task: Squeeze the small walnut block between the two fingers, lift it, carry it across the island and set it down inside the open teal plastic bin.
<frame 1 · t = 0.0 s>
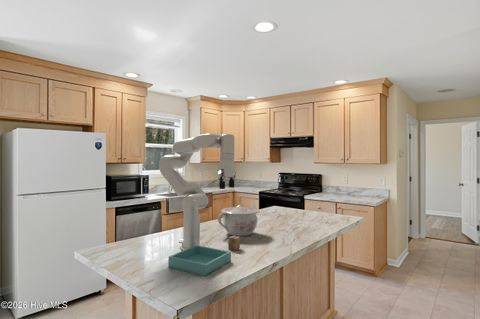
hand: (227, 188, 157), 37 cm above the table, fingers open, 9 cm apart
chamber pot: (239, 234, 203), on the table
walnut block: (234, 249, 168), on the table
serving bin: (200, 264, 143), on the table
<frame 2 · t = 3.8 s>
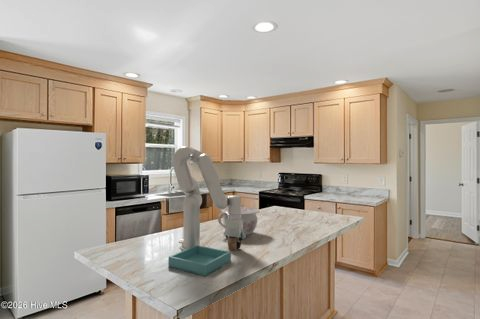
hand: (234, 247, 168), 1 cm above the table, fingers closed on walnut block, 5 cm apart
walnut block: (234, 249, 168), on the table, touching gripper
everything else where it was.
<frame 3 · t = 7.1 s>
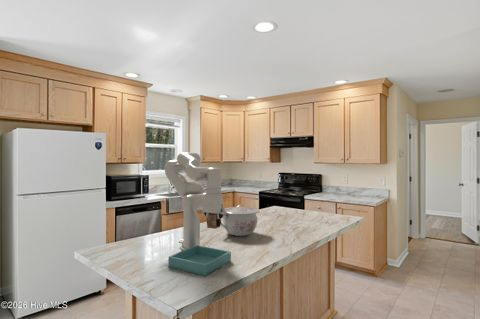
hand: (213, 225, 151), 18 cm above the table, fingers closed on walnut block, 5 cm apart
walnut block: (213, 227, 151), point 17 cm above the table, touching gripper
everything else where it was.
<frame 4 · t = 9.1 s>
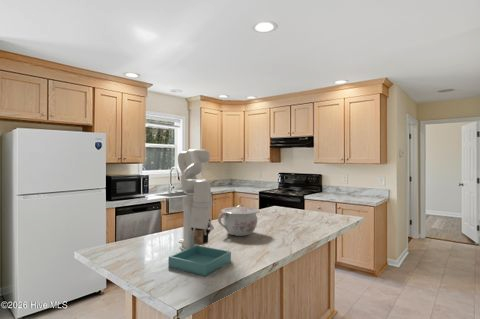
hand: (200, 241, 143), 11 cm above the table, fingers closed on walnut block, 5 cm apart
walnut block: (200, 243, 143), point 10 cm above the table, touching gripper
everything else where it was.
when the fingers open (4 cm above the table, at t = 10.7 s): walnut block drops 3 cm, resting on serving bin.
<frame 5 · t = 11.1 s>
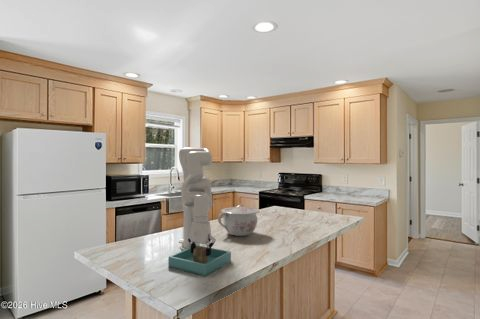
hand: (200, 253, 143), 5 cm above the table, fingers open, 9 cm apart
walnut block: (200, 262, 143), point 1 cm above the table, touching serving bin
everything else where it was.
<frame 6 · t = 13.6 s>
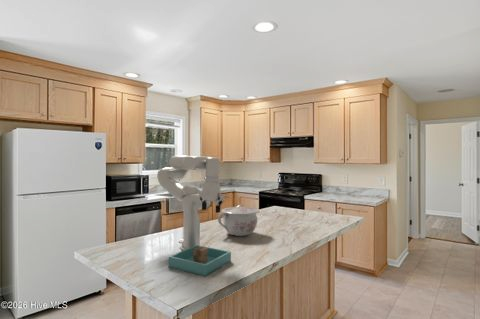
hand: (210, 211, 158), 24 cm above the table, fingers open, 9 cm apart
nothing on the table moved.
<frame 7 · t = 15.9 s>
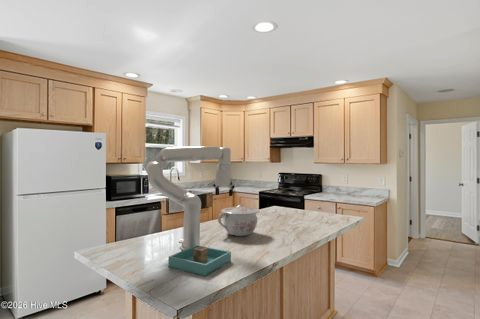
hand: (223, 195, 177), 30 cm above the table, fingers open, 9 cm apart
nothing on the table moved.
at the end: walnut block inside the target area on the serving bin (0.1 cm from its centre), point 0.8 cm above the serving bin's base; the gripper is holding nothing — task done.
